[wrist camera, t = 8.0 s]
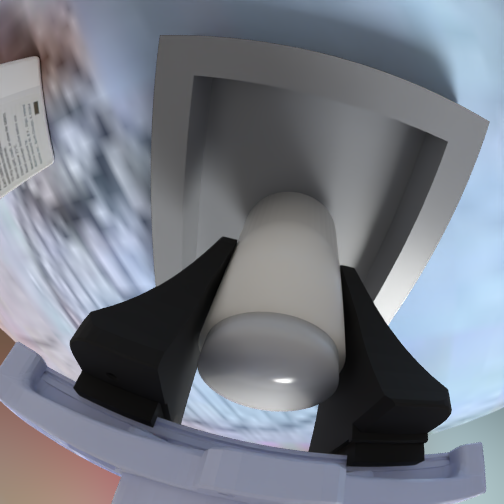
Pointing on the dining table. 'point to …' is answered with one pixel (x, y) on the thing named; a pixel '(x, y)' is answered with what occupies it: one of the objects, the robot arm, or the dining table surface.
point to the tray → (304, 154)
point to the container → (22, 124)
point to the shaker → (278, 310)
